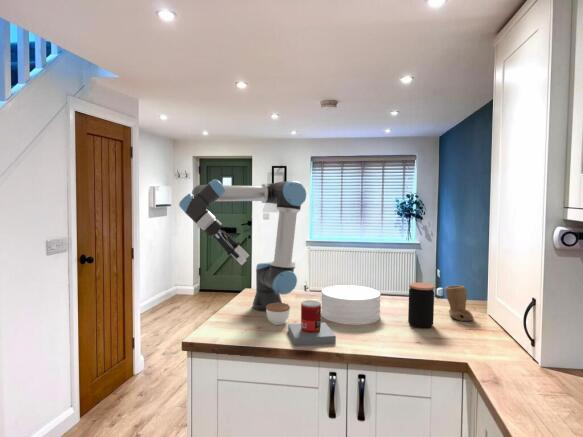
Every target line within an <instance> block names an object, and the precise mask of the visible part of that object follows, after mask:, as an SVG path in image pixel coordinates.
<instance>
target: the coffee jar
mask: <svg viewBox="0 0 583 437" xmlns="http://www.w3.org/2000/svg"><path fill="white" fill-rule="evenodd" d="M408 286H409V289H408V310H407V311H408V313H407V314H408V316H407V318H408V320H407V322H408V324H409V325H410V326H411V327H413V328H417V329H431V328H432V327H433V325H434V315H435V314H434V311H435V310H434V309H435V291H434V290H435V285H433V284H430V283H426V282H410V283H409V284H408Z"/></svg>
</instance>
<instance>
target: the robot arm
mask: <svg viewBox="0 0 583 437" xmlns="http://www.w3.org/2000/svg"><path fill="white" fill-rule="evenodd" d="M306 199H307V191H306V188H305V186H304V185H303V184H302V183H301V182H299V181H296V180H288V181H279V182H273V183H272V182H271V183H262V184H261V185H225V184H224V185H223V184H222V183H221V181H220V180H218V179H216V178H215V179H212V180H211V181H209V182H208V183H207V184H198V185H196V186H195V187H193V188H192V191H191V193H188V194H187V195H185V196H184V197H183V198H181V200H180V201H179V204H178V206H179V207H180V209H181V210H182V211H183V212H184V214H185V215H186V216H188V217H189V218H190V219H191V220H192V221H193V222H194V223H195V224H196V225H197V228H200V229H201V230H203V231H204V233H205V234H206V235H207V236H208V237H209V238H212V237H214V239H215V240H216V241H217V242H218V243H219V244H220V245H221V247H222V248H223V249H224V251H225V252H226V254H227V255H228V256H230V255H231V256H232V258H234V259H235V260H236V261H237V263H239V264H240V265H241V266H243V265H244V264H245V263H246V262H247V259H248V258H249V256H250V255H249V253H248V252H246V250H245V249H244V248H243V247H242V246H240V244H241V243H240V242H238V241H236V240H235V239H234V238H233V237H232V236H230V235H229V234H228V233H227V232H226V231H225V230H224V229H221V228H222V227H223V224H222V222H221V221H220V220H219V219H217V218H216V216H215V215H214V214H213V213H212V212H211V211H210V210H209V209H208V208H210V206H211V205H212V204H214V203H215V202H262V203H263V204H274V205H276V209H277V210H278V218H277V219H278V220H277V230H276V237H275V248H274V256H273V261H272V262H271V261H270V262H260V263H257V264H256V269H255V274H256V275H255V277H256V279H255V280H256V281H255V284H256V286H255V287H256V288H255V289H256V290H255V295H254V298H253V301H252V308H253V309H254V310H257V311H261V312H262V311H263V312H266V306H267V305H268V304H271V303H277V302H279V303H283V302H282V297H281V296H280V294H281V295H288V294H290V293H291V292H293V291H294V290H295V288H296V287H297V282H298V278H297V275H296V273H295V272H294V271H295V265H294V264H293V263H292V260H293V251H294V243H295V234H296V227H297V226H296V224H297V217H298V216H297V215H298V213H299V212H300V211H301V206H302V205H303V204H304V202H305V201H306Z"/></svg>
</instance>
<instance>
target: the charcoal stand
mask: <svg viewBox="0 0 583 437" xmlns="http://www.w3.org/2000/svg"><path fill="white" fill-rule="evenodd" d="M287 328H288V330H287V331H288V334H289V336H290V338H291V339H292V342H293V344H294V347H298V346H299V347H300V346H303V347H304V346H317V345H319V346H320V345H333V344H334V345H335V344H336V342H337V340H336V339H337V337H336V336H337V335H336V334H335V333H334V332H333V330H332V329H331V328H330V327H329V325H327V323H326V321H324V322H322V321H321V328H320V331H318V332H315V333H309V332H304V331H303V330H302V329H301V323H289V324H288V327H287Z"/></svg>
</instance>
